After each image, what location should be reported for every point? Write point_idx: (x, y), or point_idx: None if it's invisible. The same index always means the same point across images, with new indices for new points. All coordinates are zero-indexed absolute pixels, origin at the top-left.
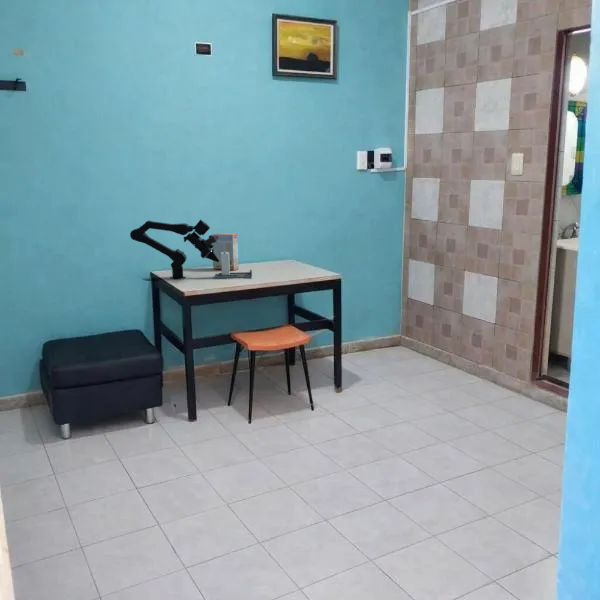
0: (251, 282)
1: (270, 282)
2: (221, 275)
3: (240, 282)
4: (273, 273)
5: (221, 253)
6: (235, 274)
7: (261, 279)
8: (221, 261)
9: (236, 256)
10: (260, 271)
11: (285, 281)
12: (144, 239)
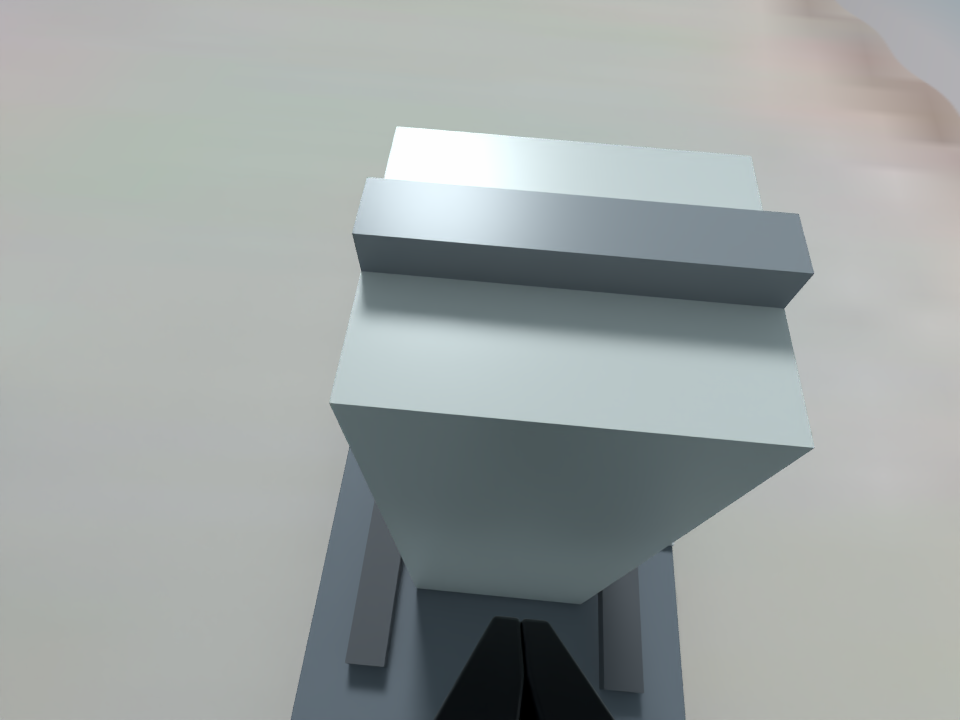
0: (907, 239)
1: (874, 97)
2: (637, 613)
3: (933, 350)
4: (370, 36)
5: (762, 426)
6: None
7: (709, 144)
8: (666, 542)
9: None
10: (190, 111)
11: (807, 10)
12: None
